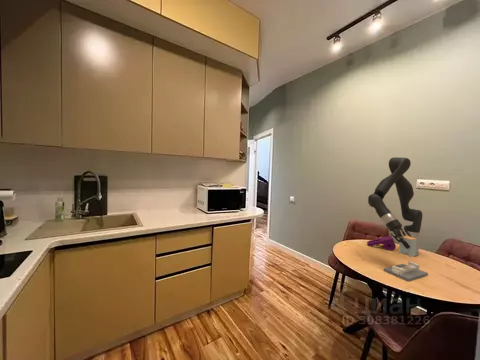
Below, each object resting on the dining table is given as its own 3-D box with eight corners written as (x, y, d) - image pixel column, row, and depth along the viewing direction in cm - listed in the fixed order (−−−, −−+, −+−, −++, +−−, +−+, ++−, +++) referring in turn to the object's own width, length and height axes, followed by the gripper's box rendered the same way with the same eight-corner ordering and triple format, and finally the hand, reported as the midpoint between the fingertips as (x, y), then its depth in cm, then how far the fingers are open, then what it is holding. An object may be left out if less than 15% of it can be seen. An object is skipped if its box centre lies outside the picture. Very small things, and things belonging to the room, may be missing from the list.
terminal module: (403, 252, 130) (405, 235, 129) (415, 256, 124) (416, 238, 124) (398, 253, 128) (400, 236, 127) (410, 257, 122) (412, 239, 122)
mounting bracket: (371, 254, 170) (397, 249, 162) (367, 244, 172) (392, 238, 164) (370, 251, 179) (395, 245, 171) (366, 241, 180) (390, 235, 172)
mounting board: (402, 266, 137) (403, 258, 137) (427, 275, 125) (428, 267, 125) (383, 270, 128) (384, 263, 128) (408, 281, 116) (409, 273, 116)
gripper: (389, 219, 129) (410, 246, 118) (402, 218, 135) (424, 243, 125) (379, 225, 134) (398, 252, 124) (392, 224, 140) (412, 249, 130)
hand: (411, 247), depth 124 cm, fingers closed on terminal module, 5 cm apart
